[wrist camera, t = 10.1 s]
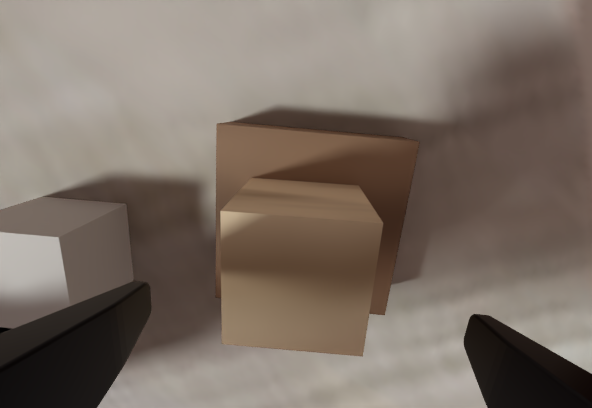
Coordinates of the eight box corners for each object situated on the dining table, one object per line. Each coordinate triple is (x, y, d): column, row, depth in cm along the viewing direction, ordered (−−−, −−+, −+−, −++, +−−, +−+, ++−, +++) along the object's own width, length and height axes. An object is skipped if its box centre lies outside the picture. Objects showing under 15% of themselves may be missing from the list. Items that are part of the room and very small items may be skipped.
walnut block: (373, 284, 19) (384, 315, 16) (230, 269, 19) (215, 297, 16) (400, 136, 16) (419, 142, 13) (233, 121, 16) (216, 123, 13)
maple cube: (346, 280, 15) (362, 356, 11) (249, 273, 16) (221, 344, 11) (358, 185, 14) (383, 223, 9) (251, 177, 14) (220, 210, 9)
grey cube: (134, 278, 19) (75, 334, 14) (57, 271, 19) (-27, 324, 14) (127, 203, 18) (58, 237, 13) (43, 196, 18) (-55, 227, 13)
